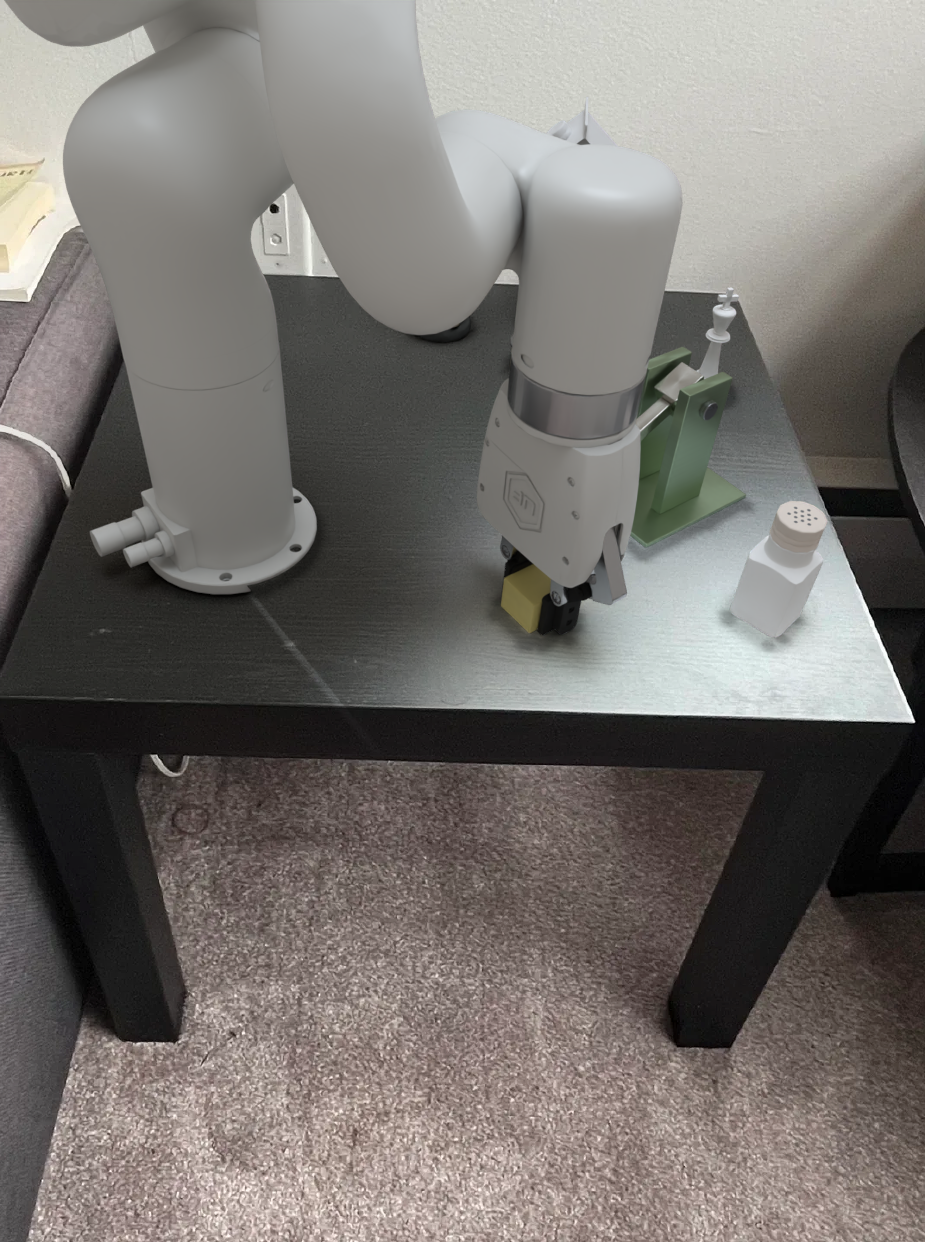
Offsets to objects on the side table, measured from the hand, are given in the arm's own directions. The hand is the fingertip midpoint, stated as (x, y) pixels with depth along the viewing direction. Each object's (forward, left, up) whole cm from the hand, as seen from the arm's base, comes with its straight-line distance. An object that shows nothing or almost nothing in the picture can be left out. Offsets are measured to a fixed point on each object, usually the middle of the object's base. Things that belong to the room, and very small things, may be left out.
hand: (538, 612), depth 68 cm
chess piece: (+31, +14, 0) cm, 34 cm away
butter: (0, 0, 0) cm, 0 cm away
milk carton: (+29, +32, -1) cm, 43 cm away
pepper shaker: (+13, -9, -1) cm, 16 cm away
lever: (+12, +5, +6) cm, 14 cm away
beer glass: (+17, +36, -1) cm, 40 cm away
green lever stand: (+16, +5, 0) cm, 17 cm away
